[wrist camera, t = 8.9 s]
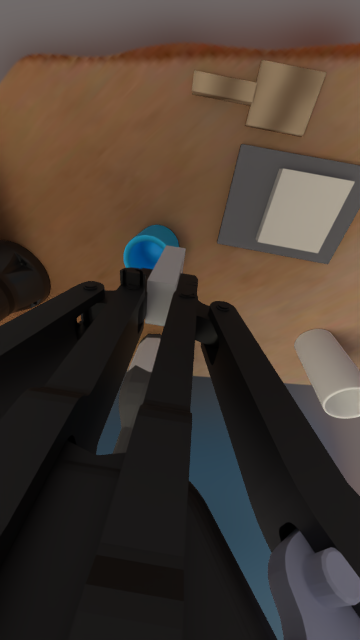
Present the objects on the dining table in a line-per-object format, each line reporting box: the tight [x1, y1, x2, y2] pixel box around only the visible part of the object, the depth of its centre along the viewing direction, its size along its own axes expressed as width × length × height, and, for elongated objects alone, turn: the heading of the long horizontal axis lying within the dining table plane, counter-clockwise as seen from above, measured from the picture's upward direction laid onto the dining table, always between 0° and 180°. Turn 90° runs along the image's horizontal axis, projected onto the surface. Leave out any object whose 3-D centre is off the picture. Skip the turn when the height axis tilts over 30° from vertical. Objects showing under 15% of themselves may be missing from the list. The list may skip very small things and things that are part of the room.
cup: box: [294, 329, 360, 418], centre depth 43 cm, size 8×8×16 cm
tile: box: [256, 168, 355, 253], centre depth 34 cm, size 2×10×10 cm
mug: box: [124, 225, 179, 269], centre depth 39 cm, size 12×8×8 cm
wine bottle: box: [113, 334, 162, 454], centre depth 43 cm, size 8×8×30 cm
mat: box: [217, 144, 360, 264], centre depth 35 cm, size 20×14×1 cm
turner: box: [192, 60, 327, 137], centre depth 28 cm, size 16×6×2 cm, turn 81°
